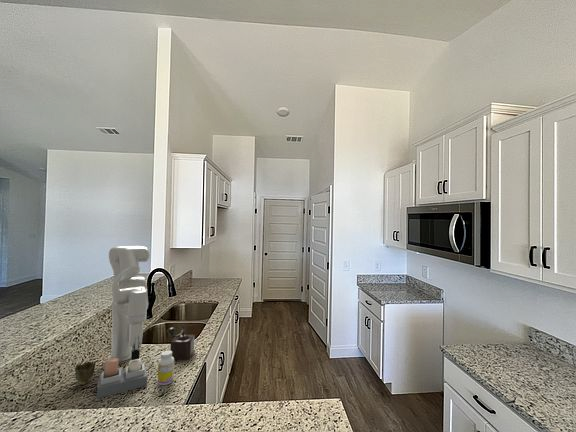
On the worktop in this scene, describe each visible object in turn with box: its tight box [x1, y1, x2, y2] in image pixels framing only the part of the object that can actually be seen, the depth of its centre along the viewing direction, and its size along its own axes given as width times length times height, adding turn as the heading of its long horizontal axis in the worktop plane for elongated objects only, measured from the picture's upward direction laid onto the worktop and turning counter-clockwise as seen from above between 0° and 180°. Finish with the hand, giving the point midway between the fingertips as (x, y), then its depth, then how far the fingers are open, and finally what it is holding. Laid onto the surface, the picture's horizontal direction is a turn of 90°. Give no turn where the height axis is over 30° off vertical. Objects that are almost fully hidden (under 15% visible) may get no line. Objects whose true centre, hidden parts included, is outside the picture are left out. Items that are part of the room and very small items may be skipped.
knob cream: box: [128, 357, 142, 372], centre depth 121 cm, size 5×5×5 cm
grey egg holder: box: [96, 362, 148, 399], centre depth 119 cm, size 12×18×6 cm, turn 122°
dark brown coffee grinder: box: [167, 324, 195, 361], centre depth 145 cm, size 16×11×18 cm
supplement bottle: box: [157, 350, 175, 386], centre depth 122 cm, size 7×7×13 cm
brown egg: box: [104, 358, 119, 375], centre depth 117 cm, size 5×5×5 cm
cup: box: [74, 361, 96, 386], centre depth 119 cm, size 8×7×8 cm
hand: (135, 358), depth 122 cm, fingers closed
